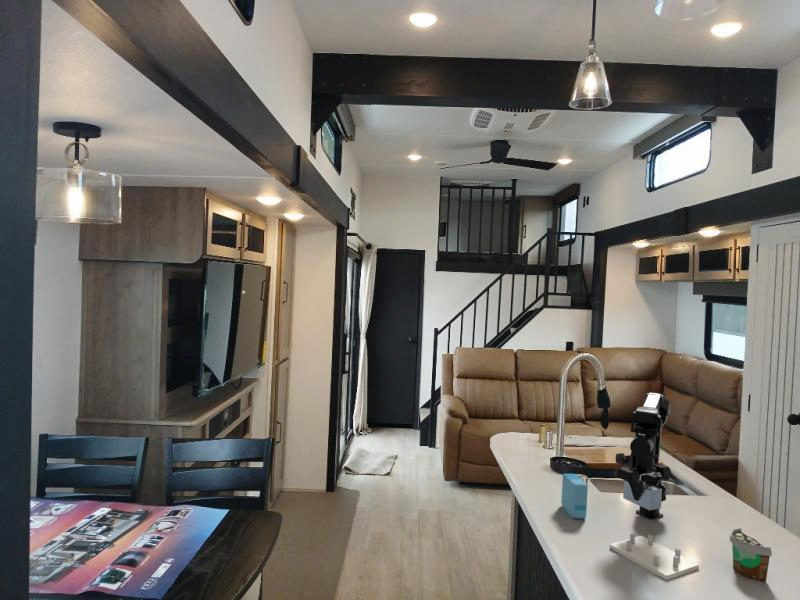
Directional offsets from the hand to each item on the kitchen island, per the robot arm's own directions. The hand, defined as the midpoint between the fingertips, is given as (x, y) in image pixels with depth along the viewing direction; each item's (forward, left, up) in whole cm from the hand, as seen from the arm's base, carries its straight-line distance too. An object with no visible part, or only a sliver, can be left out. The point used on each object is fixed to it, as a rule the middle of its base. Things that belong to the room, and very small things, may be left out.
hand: (641, 499), depth 170 cm
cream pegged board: (+7, +10, -13) cm, 18 cm away
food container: (-10, +26, -13) cm, 31 cm away
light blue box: (+5, -23, -13) cm, 27 cm away
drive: (0, 0, -1) cm, 1 cm away
